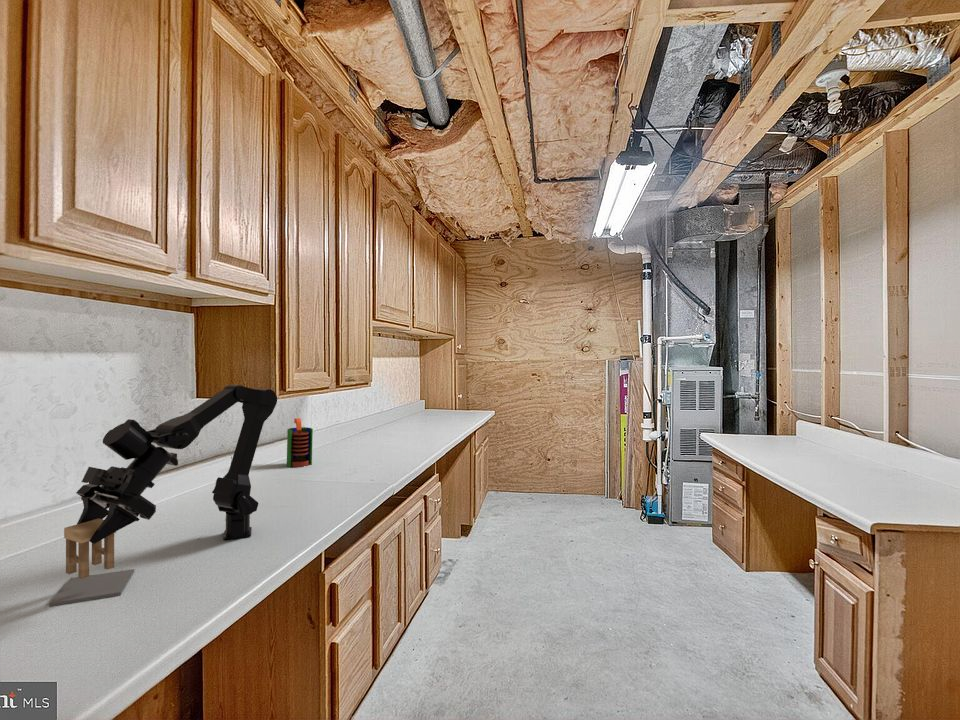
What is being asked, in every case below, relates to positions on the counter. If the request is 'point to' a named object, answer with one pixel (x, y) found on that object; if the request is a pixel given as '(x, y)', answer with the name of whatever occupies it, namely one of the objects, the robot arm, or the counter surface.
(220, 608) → the counter surface
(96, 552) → the stool
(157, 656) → the counter surface
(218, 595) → the counter surface
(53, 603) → the mat
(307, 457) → the motor
